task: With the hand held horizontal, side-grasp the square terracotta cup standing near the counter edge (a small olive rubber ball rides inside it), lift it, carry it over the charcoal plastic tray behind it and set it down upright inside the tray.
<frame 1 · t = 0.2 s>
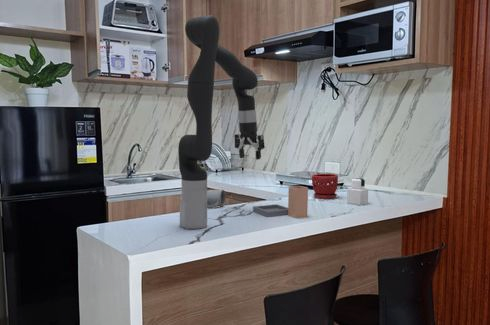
hand: (250, 158, 183), 23 cm above the worktop, tool pointing down, fingers open, 8 cm apart
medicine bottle: (357, 204, 203), on the worktop
tray: (272, 212, 180), on the worktop
ball: (297, 210, 174), point 2 cm above the worktop, touching cup
plant pot: (324, 198, 219), on the worktop
cup: (297, 216, 174), on the worktop, touching ball
ceramic mug: (214, 206, 194), on the worktop
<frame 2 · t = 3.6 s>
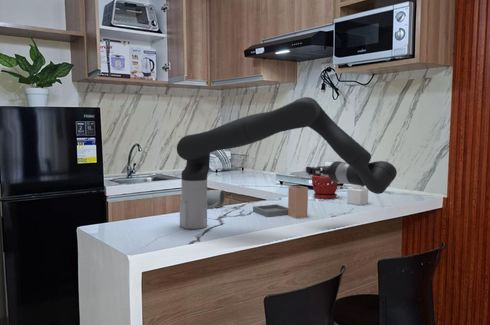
hand: (315, 169, 163), 20 cm above the worktop, tool horizontal, fingers open, 8 cm apart
ball: (298, 210, 174), point 2 cm above the worktop, tilted 9°, touching cup
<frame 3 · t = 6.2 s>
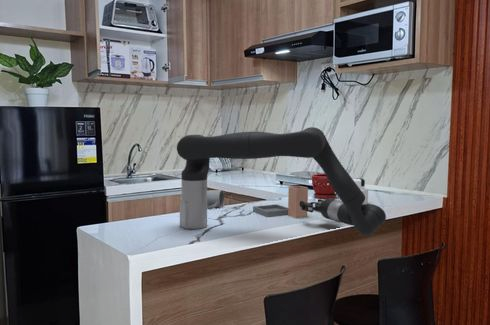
hand: (309, 202, 166), 7 cm above the worktop, tool horizontal, fingers open, 8 cm apart
ball: (299, 211, 173), point 2 cm above the worktop, tilted 26°, touching cup
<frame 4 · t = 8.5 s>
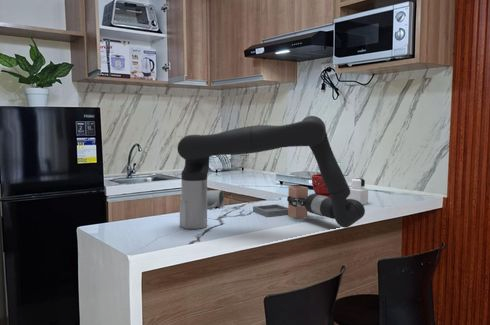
hand: (294, 198, 176), 7 cm above the worktop, tool horizontal, fingers closed on cup, 5 cm apart
ball: (298, 210, 175), point 2 cm above the worktop, tilted 30°, touching cup
cup: (297, 216, 174), on the worktop, touching ball, gripper
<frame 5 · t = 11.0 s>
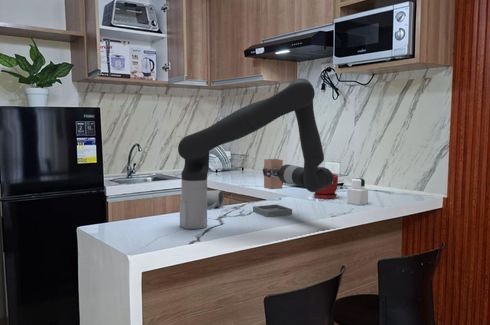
hand: (270, 170, 181), 18 cm above the worktop, tool horizontal, fingers closed on cup, 5 cm apart
ball: (273, 182, 180), point 13 cm above the worktop, tilted 36°, touching cup
cup: (273, 188, 179), point 11 cm above the worktop, touching ball, gripper
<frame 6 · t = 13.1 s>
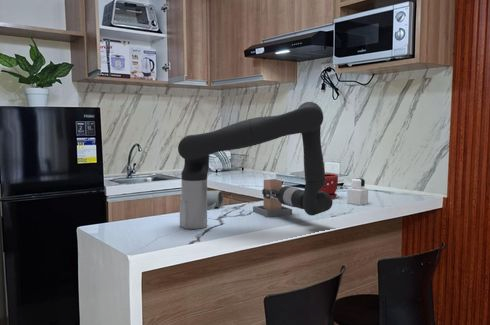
hand: (269, 191, 182), 9 cm above the worktop, tool horizontal, fingers closed on cup, 5 cm apart
ball: (273, 202, 181), point 4 cm above the worktop, tilted 36°, touching cup
cup: (272, 208, 180), point 2 cm above the worktop, touching ball, gripper
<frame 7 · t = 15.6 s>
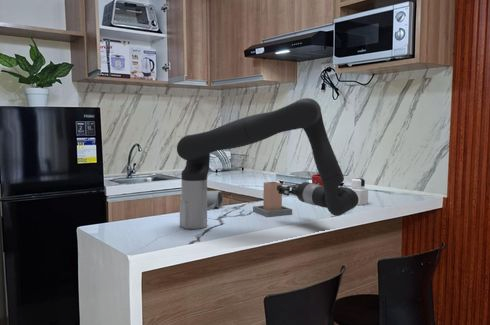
hand: (287, 187, 168), 13 cm above the worktop, tool horizontal, fingers open, 8 cm apart
ball: (273, 205, 181), point 3 cm above the worktop, tilted 30°, touching cup
cup: (272, 211, 180), point 1 cm above the worktop, touching ball, tray
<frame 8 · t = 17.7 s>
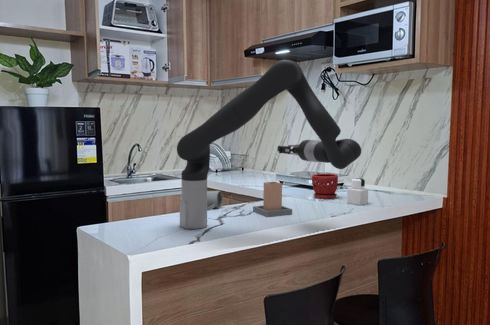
hand: (287, 148, 164), 28 cm above the worktop, tool horizontal, fingers open, 8 cm apart
at the end: cup inside the target area on the tray (0.1 cm from its centre), point 0.8 cm above the tray's base; cup tilted 0°; the gripper is holding nothing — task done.
